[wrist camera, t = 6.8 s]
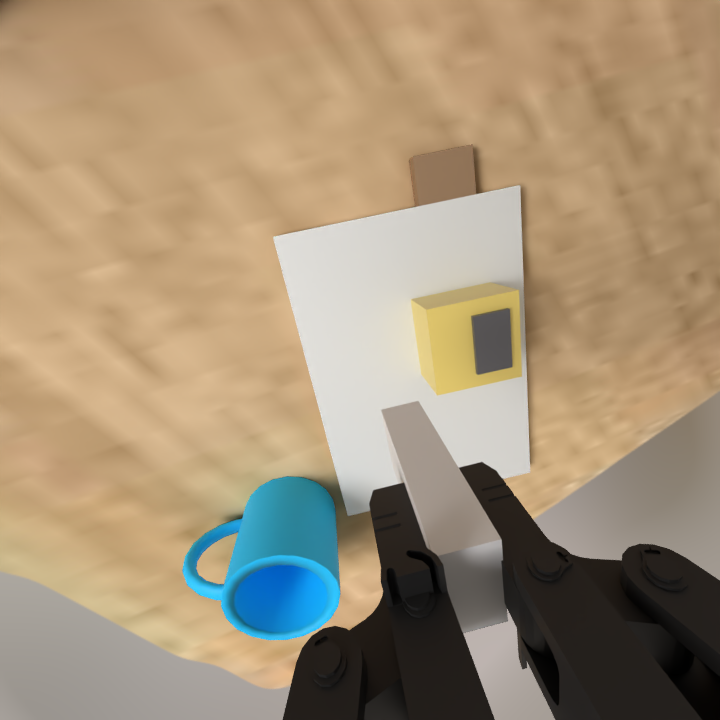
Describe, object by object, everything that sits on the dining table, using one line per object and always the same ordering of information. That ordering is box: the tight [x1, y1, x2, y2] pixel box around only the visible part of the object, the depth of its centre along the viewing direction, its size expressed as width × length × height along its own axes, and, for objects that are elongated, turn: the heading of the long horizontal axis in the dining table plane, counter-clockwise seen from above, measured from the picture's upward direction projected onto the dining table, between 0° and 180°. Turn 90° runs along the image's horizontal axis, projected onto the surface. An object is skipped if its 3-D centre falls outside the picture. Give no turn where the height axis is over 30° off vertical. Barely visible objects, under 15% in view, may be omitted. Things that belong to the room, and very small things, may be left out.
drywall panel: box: [273, 144, 530, 516], centre depth 28 cm, size 30×17×1 cm, turn 11°
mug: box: [183, 477, 340, 640], centre depth 28 cm, size 12×8×8 cm
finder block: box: [411, 282, 522, 396], centre depth 25 cm, size 6×6×4 cm
